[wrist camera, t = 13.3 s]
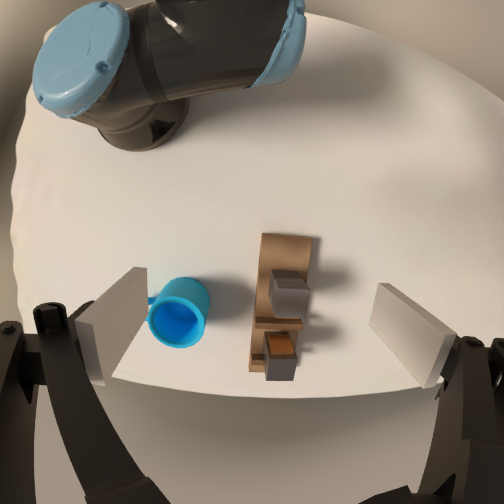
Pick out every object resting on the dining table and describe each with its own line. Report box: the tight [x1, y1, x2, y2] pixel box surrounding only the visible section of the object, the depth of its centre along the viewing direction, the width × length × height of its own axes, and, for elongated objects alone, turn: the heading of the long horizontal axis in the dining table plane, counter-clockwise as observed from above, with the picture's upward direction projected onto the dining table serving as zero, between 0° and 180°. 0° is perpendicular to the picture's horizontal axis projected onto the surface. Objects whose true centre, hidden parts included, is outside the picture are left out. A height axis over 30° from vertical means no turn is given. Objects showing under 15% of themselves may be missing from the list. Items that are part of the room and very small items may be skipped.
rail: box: [249, 233, 312, 372], centre depth 41 cm, size 24×7×10 cm, turn 175°
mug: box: [145, 277, 210, 348], centre depth 41 cm, size 12×8×8 cm
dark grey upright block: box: [262, 331, 297, 381], centre depth 42 cm, size 5×4×8 cm
